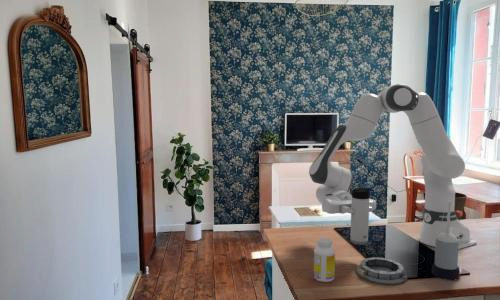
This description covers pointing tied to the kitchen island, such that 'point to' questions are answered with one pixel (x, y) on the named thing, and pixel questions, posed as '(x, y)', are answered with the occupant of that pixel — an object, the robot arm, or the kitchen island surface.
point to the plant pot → (459, 203)
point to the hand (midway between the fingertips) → (361, 210)
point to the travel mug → (360, 216)
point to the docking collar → (382, 271)
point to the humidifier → (446, 253)
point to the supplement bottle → (324, 260)
